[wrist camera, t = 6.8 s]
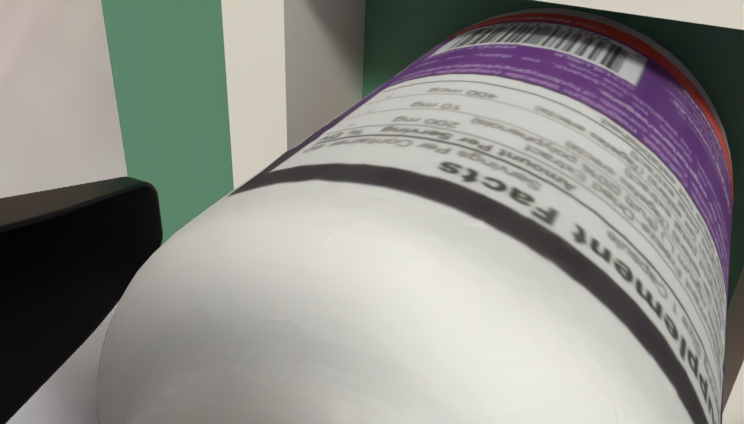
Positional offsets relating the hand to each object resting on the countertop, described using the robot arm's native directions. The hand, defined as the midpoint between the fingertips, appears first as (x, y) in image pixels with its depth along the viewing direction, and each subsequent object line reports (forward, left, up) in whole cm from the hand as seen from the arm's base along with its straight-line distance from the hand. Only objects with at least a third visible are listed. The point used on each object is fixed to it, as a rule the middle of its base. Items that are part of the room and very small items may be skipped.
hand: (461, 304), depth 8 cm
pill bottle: (0, 0, -4) cm, 4 cm away
